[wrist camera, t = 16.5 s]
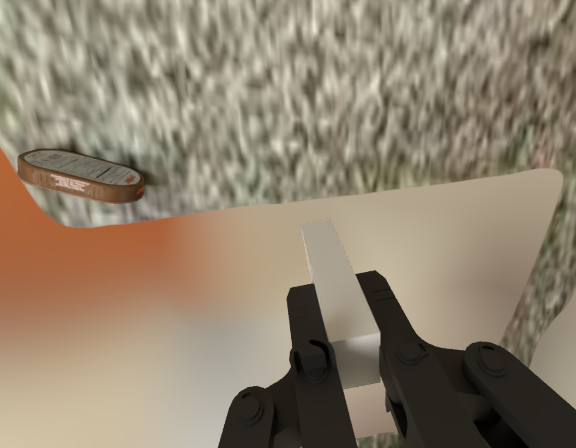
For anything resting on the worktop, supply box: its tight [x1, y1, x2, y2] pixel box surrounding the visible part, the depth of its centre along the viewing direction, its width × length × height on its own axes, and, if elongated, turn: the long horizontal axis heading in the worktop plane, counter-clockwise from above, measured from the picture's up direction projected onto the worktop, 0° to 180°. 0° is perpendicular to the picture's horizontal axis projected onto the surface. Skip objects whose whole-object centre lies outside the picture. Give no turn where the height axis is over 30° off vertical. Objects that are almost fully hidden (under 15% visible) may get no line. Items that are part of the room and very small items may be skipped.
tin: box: [17, 149, 144, 204], centre depth 40 cm, size 15×3×8 cm, turn 70°
